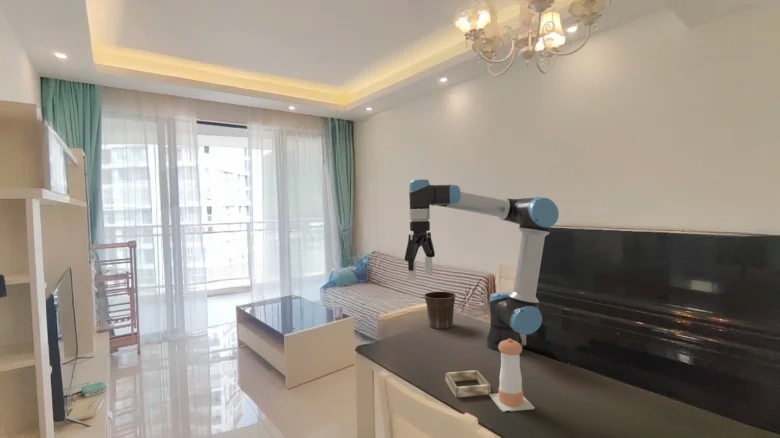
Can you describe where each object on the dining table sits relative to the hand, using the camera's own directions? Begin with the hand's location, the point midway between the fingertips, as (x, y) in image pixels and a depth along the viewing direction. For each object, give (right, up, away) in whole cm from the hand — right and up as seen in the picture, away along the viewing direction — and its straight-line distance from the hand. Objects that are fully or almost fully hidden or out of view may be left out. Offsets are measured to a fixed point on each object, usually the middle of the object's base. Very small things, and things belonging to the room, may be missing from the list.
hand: (420, 276), depth 142 cm
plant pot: (+14, -34, +51) cm, 63 cm away
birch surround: (+14, -35, -16) cm, 41 cm away
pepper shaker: (+26, -35, -26) cm, 50 cm away
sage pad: (+26, -35, -27) cm, 51 cm away
